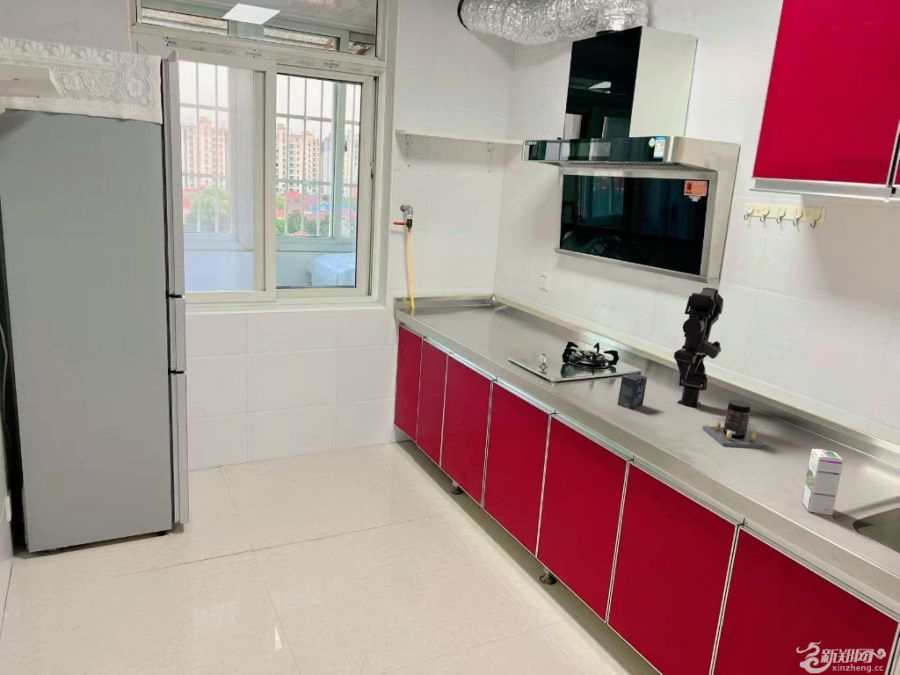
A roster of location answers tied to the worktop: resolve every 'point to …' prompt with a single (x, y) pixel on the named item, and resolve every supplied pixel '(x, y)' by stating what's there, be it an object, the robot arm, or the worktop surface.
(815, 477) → the syrup box
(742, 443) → the plate
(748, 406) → the supplement container
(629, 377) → the box
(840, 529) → the worktop surface
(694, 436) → the worktop surface
